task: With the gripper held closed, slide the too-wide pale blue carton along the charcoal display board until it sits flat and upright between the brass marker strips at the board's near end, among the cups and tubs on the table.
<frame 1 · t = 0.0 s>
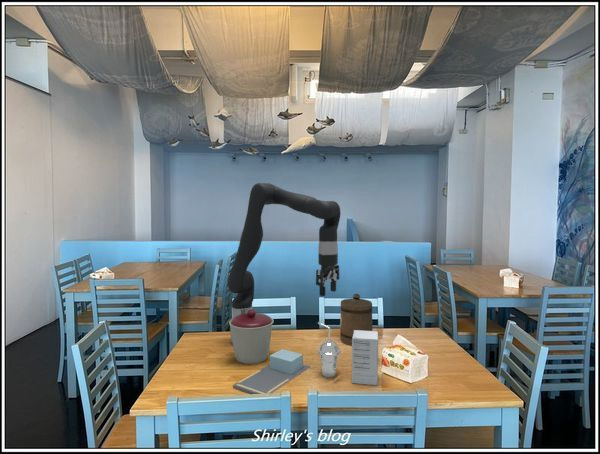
hand: (327, 293, 156), 29 cm above the table, tool pointing down, fingers open, 8 cm apart
supplement box: (365, 379, 147), on the table
canister: (252, 360, 165), on the table
dixie cup: (367, 360, 164), on the table
carton: (286, 367, 155), point 1 cm above the table, touching display board
wooden container: (356, 340, 187), on the table
display board: (273, 377, 148), on the table
cup with straw: (328, 377, 149), on the table
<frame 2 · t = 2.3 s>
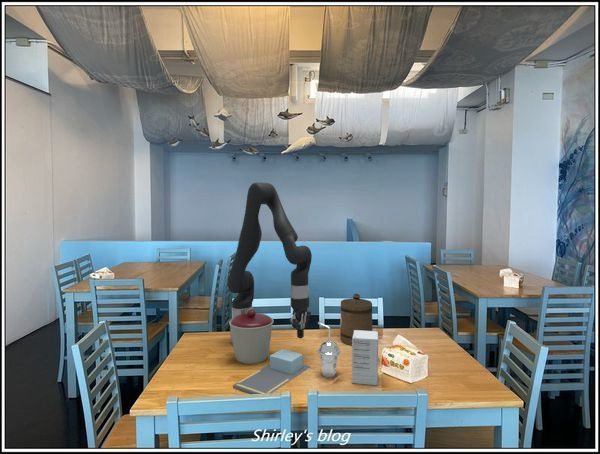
hand: (300, 337, 162), 10 cm above the table, tool pointing down, fingers closed
nothing on the table moved.
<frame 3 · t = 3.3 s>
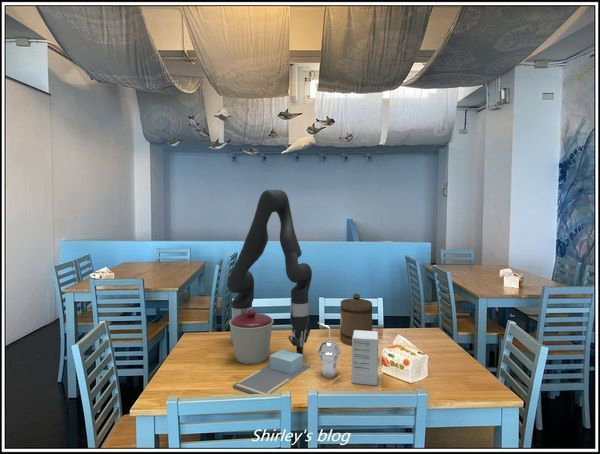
hand: (299, 354, 162), 3 cm above the table, tool pointing down, fingers closed
nothing on the table moved.
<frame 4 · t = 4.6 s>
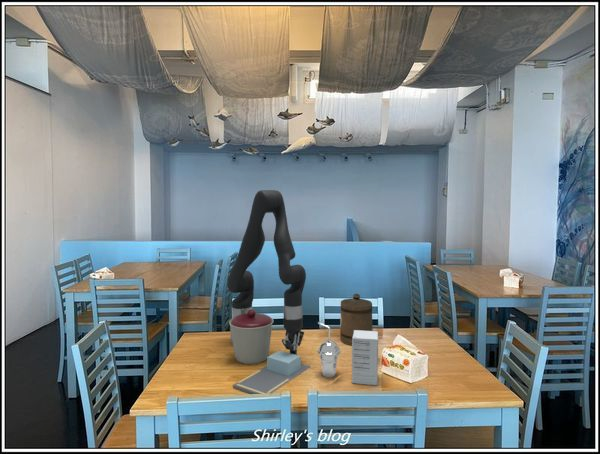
hand: (293, 358, 158), 3 cm above the table, tool pointing down, fingers closed
carton: (283, 369, 153), point 1 cm above the table, touching display board, gripper
everything else where it was.
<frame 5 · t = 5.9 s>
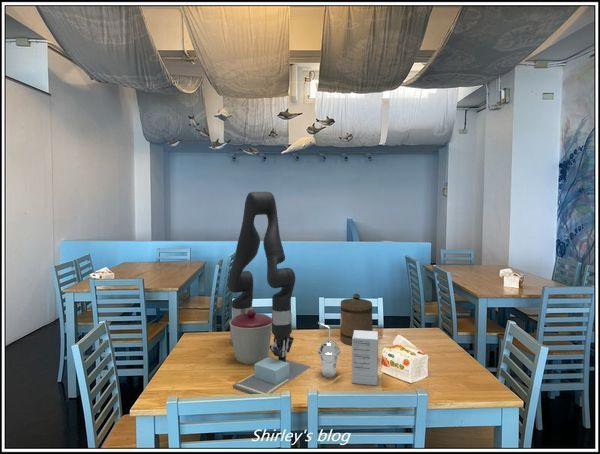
hand: (282, 365, 152), 3 cm above the table, tool pointing down, fingers closed
carton: (271, 376, 147), point 1 cm above the table, touching display board, gripper
everything else where it was.
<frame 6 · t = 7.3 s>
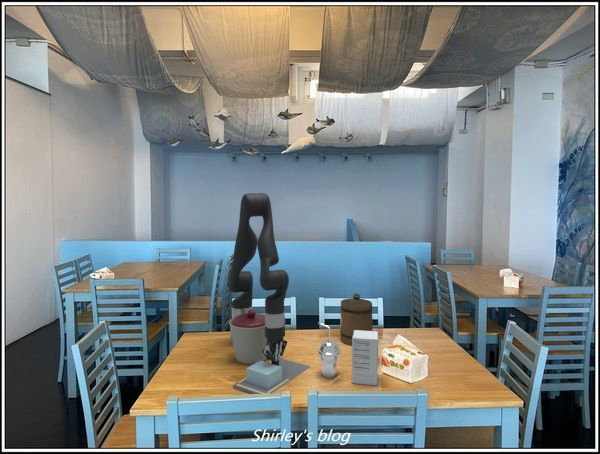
hand: (275, 369, 149), 3 cm above the table, tool pointing down, fingers closed
carton: (264, 381, 144), point 1 cm above the table, touching display board, gripper
everything else where it was.
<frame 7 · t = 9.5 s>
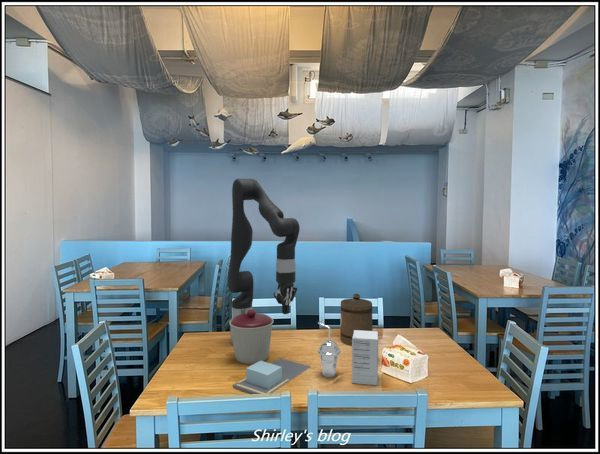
hand: (285, 313, 156), 22 cm above the table, tool pointing down, fingers closed
carton: (264, 381, 144), point 1 cm above the table, touching display board
everything else where it was.
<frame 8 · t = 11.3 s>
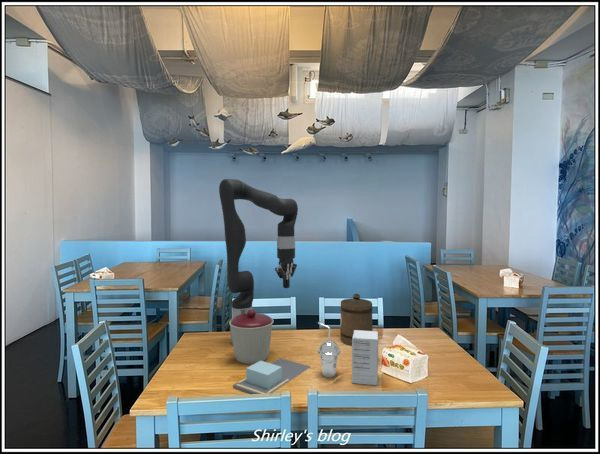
hand: (286, 287, 167), 29 cm above the table, tool pointing down, fingers closed
nothing on the table moved.
at the end: carton inside the target area (0.5 cm from its centre), point 1.0 cm above the table; carton tilted 0° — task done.
